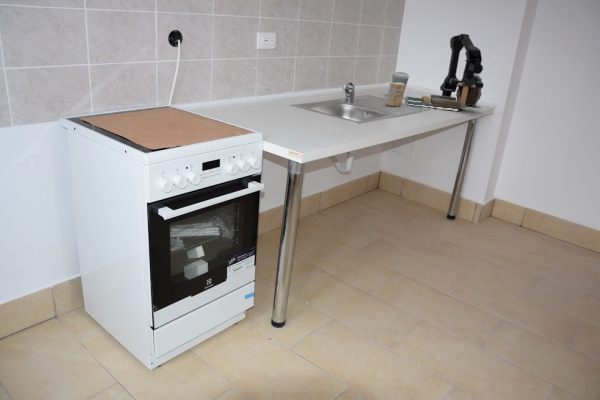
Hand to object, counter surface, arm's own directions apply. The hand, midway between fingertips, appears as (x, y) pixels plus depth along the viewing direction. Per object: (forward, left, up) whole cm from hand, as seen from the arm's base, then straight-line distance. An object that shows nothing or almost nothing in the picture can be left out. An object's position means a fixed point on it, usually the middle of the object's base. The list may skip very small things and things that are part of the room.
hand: (462, 97), depth 294 cm
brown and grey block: (0, 0, -5) cm, 5 cm away
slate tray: (0, -24, -7) cm, 25 cm away
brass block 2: (+3, -19, -5) cm, 20 cm away
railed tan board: (0, -10, -7) cm, 12 cm away
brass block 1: (-2, -19, -5) cm, 20 cm away
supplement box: (+13, -41, -8) cm, 44 cm away
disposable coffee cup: (-15, -37, -8) cm, 41 cm away
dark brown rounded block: (-17, +7, -8) cm, 20 cm away
